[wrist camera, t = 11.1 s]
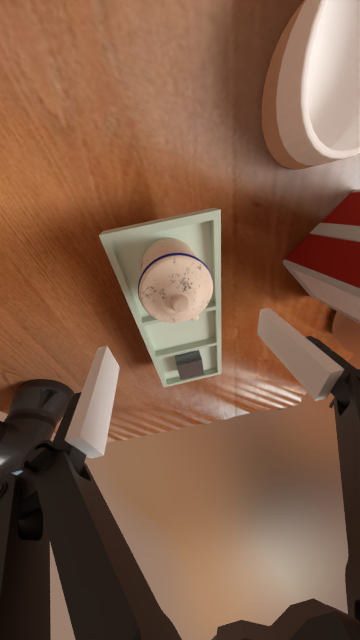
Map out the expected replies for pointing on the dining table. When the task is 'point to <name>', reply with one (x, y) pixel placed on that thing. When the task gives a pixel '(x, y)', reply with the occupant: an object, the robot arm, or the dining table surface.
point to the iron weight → (189, 364)
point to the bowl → (315, 86)
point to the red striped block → (332, 259)
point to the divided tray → (161, 336)
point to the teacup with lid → (174, 282)
